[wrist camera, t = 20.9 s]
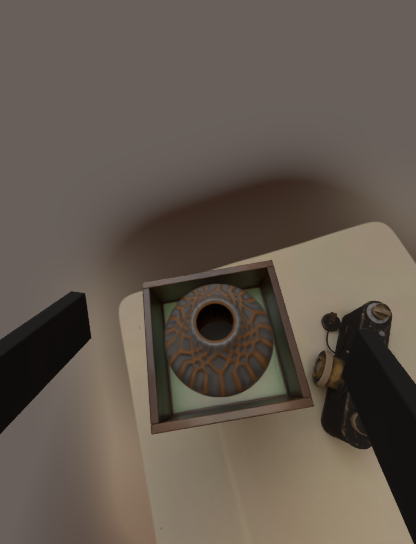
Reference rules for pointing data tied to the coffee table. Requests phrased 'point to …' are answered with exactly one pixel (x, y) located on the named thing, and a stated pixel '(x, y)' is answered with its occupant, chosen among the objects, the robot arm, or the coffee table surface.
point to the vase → (218, 340)
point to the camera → (328, 370)
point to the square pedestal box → (253, 402)
